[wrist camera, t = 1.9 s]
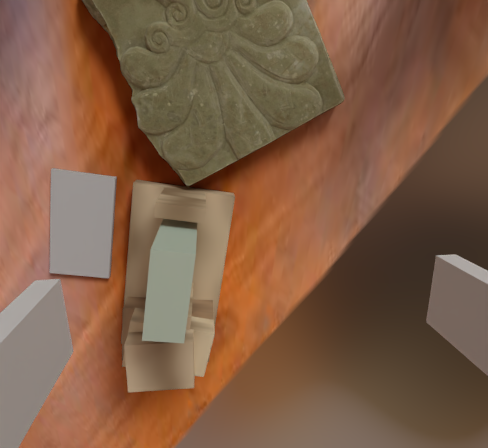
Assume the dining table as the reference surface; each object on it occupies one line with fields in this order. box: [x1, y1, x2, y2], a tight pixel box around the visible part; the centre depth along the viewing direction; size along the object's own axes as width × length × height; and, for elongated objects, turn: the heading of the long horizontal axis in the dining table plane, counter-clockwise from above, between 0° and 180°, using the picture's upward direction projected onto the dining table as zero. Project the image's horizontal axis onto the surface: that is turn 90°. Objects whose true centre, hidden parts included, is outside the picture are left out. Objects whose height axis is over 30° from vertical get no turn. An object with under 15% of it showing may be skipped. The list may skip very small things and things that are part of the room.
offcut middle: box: [122, 308, 215, 377], centre depth 34 cm, size 8×5×2 cm, turn 76°
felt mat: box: [50, 168, 117, 278], centre depth 35 cm, size 6×11×1 cm, turn 171°
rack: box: [121, 180, 235, 347], centre depth 34 cm, size 10×18×9 cm, turn 171°
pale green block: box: [142, 219, 197, 343], centre depth 30 cm, size 3×7×12 cm, turn 171°
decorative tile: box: [82, 0, 345, 186], centre depth 31 cm, size 19×20×4 cm
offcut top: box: [124, 329, 195, 392], centre depth 32 cm, size 6×5×2 cm
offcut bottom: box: [122, 297, 213, 362], centre depth 36 cm, size 9×6×2 cm, turn 84°
